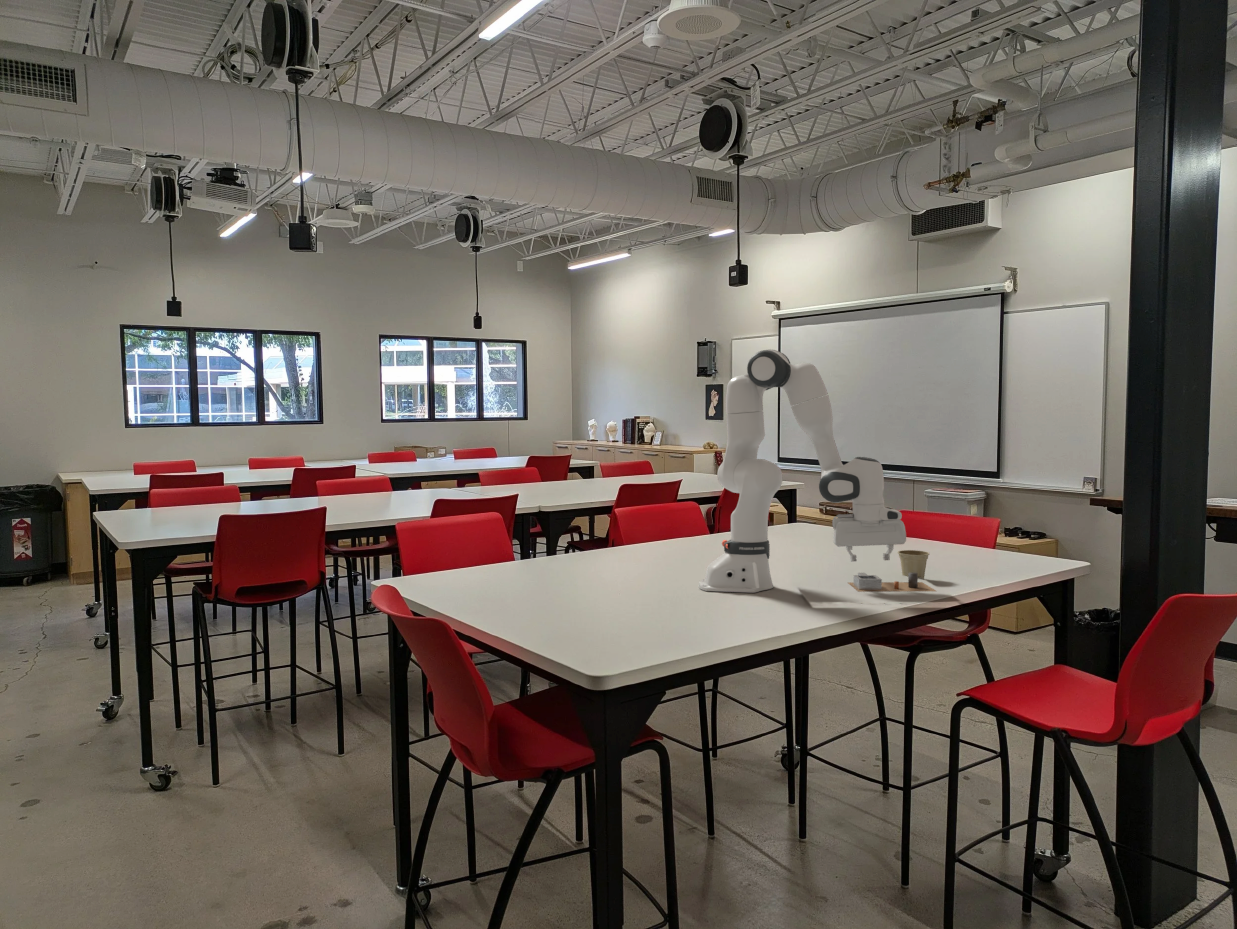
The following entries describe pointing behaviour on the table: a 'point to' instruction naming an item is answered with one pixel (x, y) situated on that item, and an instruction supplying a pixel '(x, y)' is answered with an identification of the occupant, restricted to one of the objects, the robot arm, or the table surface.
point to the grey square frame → (867, 582)
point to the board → (900, 585)
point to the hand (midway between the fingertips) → (869, 560)
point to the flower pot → (913, 562)
